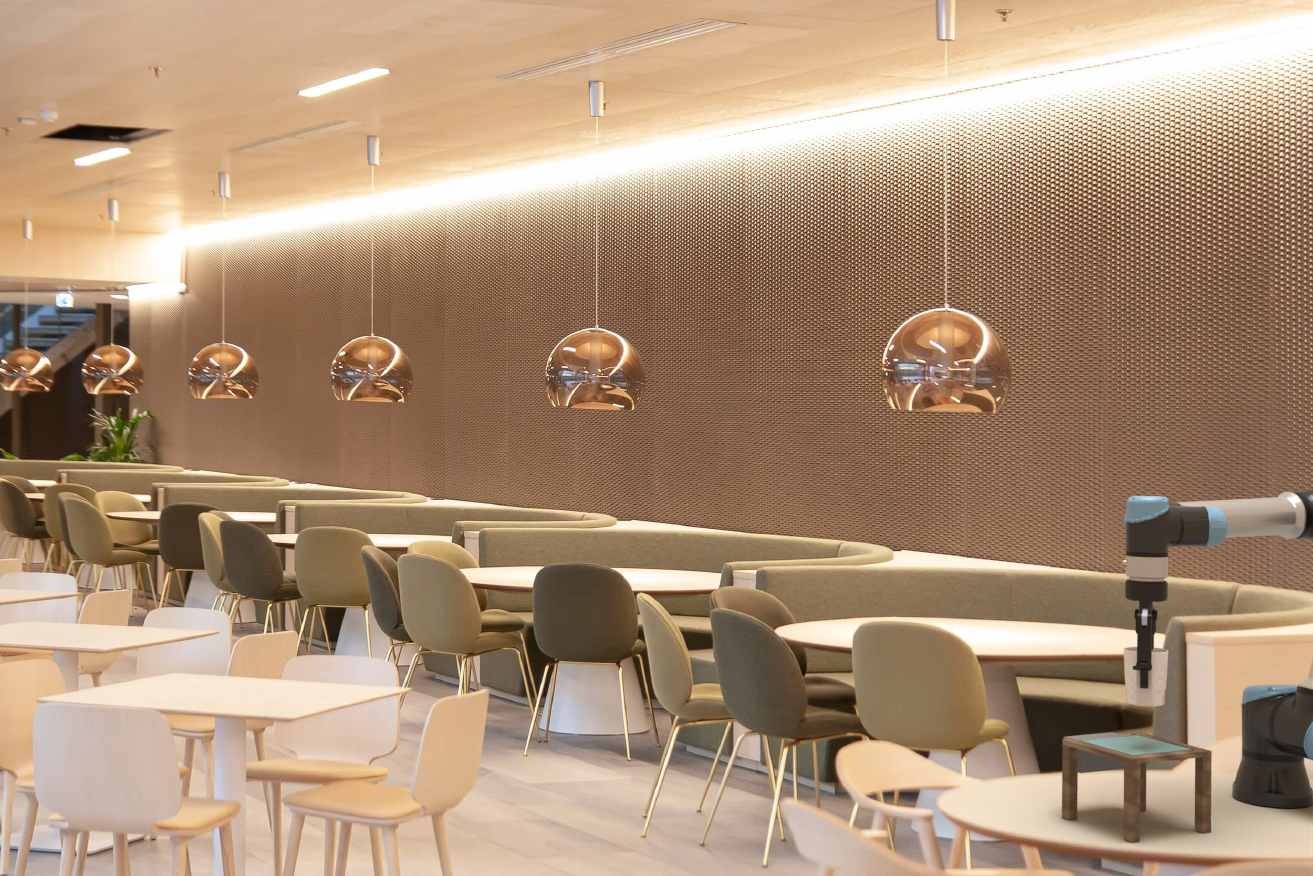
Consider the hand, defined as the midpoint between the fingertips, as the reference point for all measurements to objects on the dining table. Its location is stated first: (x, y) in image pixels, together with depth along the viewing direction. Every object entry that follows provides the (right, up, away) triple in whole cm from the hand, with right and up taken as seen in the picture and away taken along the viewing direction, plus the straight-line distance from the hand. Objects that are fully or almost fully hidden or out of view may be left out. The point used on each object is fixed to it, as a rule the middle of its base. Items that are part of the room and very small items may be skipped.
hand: (1145, 702), depth 273 cm
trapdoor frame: (-1, -23, +2) cm, 24 cm away
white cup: (0, 0, 0) cm, 0 cm away
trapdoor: (-2, -15, +5) cm, 16 cm away
